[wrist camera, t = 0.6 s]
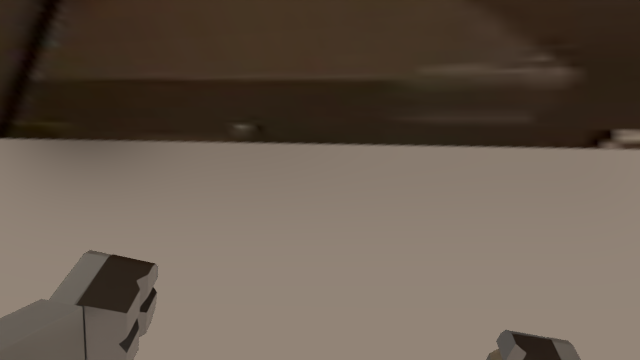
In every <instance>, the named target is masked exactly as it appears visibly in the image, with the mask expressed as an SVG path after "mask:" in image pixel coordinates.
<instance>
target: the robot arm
mask: <svg viewBox="0 0 640 360" xmlns="http://www.w3.org/2000/svg"><path fill="white" fill-rule="evenodd" d="M157 277H158V266H157V265H156V264H155V263H150V262H146V261H140V260H136V259H131V258H127V257H122V256H117V255H110V254H105V253H101V252H97V251H92V250H90V251H88V252H86V253H85V254H83V256H82V257H81V258H80V260H79V261H78V262H77V264H76V265H75V267H74V268H73V269H72V270H71V272H70V273H69V274H68V275H67V277H66V278H65V279H64V281H63V282H62V283H61V284H60V286H59V287H58V289H57V290H56V291H55V292H54V294H53V295H52V296H51V298H50V299H49V300H43V299H41V300H39V301H36V302H34V303H32V304H30V305H28V306H26V307H23V308H21V309H19V310H17V311H15V312H13V313H11V314H9V315H6V316H4V317H2V318H0V360H133V359H134V357H135V355H136V353H137V351H138V346H139V337H140V336H142V335H144V334H145V333H146V332H147V329H148V327H149V325H150V323H151V320H152V317H153V313H154V310H155V305H156V298H157V292H156V290H155V289H154V288H153V285H154V284H155V282H156V280H157ZM497 344H498V347H499V349H497V350H495V351H493V352H492V353H490V354H489V355H488V357H487V359H486V360H581V359H580V358H579V356H578V354H577V352H576V350H575V348H574V346H573V345H572V344H571V343H570V342H569V341H566V340H561V339H554V338H549V337H546V338H545V337H542V336H537V335H531V334H526V333H520V332H514V331H509V330H505V331H503V332H502V333H501V334H500V336H499V337H498V339H497Z"/></svg>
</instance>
